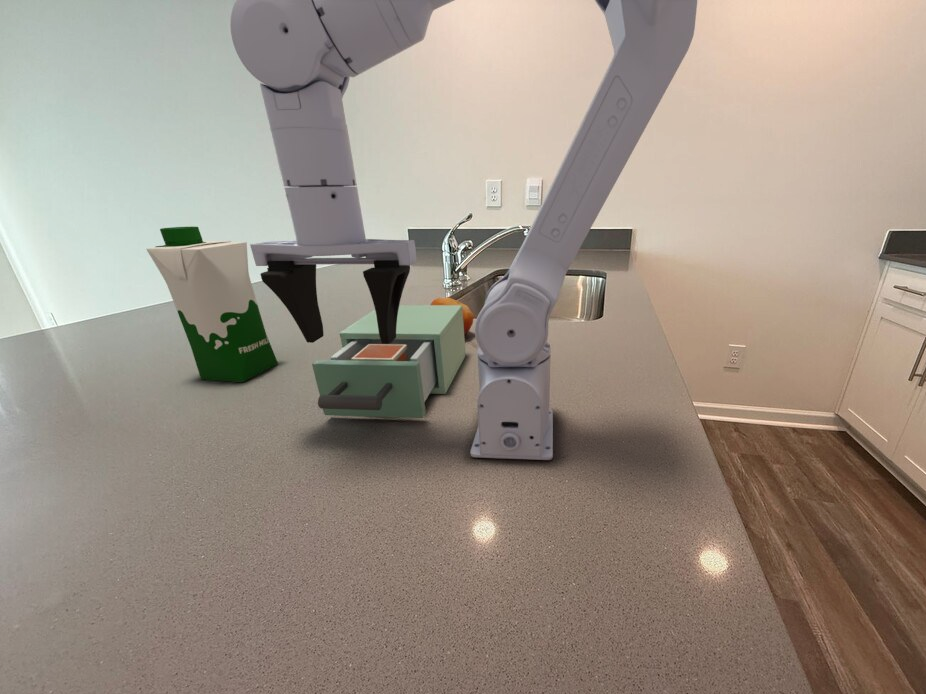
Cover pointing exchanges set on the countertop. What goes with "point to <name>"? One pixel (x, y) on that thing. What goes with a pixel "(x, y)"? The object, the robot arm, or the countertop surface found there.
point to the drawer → (377, 381)
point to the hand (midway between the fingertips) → (351, 339)
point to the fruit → (467, 313)
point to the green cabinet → (422, 335)
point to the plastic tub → (381, 353)
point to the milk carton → (215, 304)
